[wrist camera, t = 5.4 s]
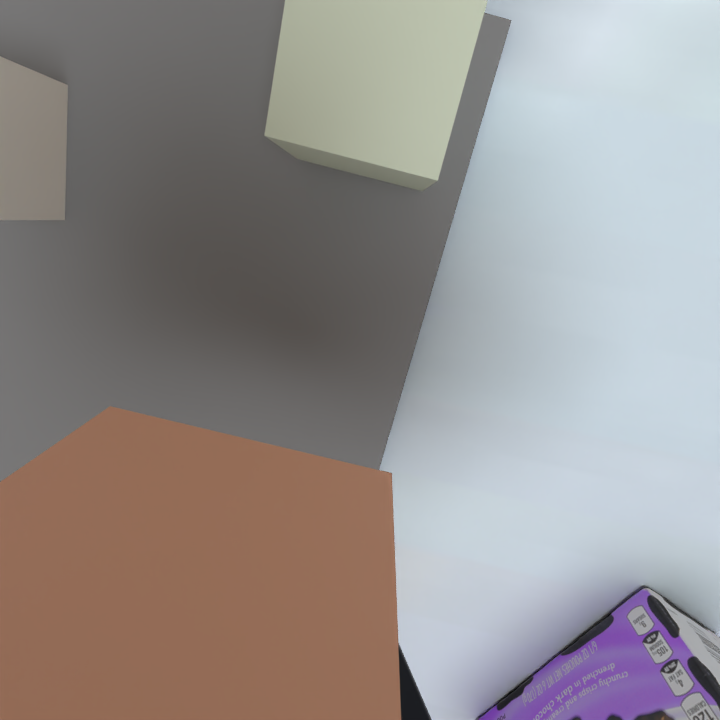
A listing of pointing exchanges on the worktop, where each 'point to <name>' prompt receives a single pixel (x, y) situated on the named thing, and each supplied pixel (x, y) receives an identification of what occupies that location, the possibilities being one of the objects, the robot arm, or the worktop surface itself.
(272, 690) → the terracotta block
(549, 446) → the worktop surface
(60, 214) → the taupe block
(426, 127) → the sage block
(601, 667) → the candy box
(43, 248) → the slate mat
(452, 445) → the worktop surface
